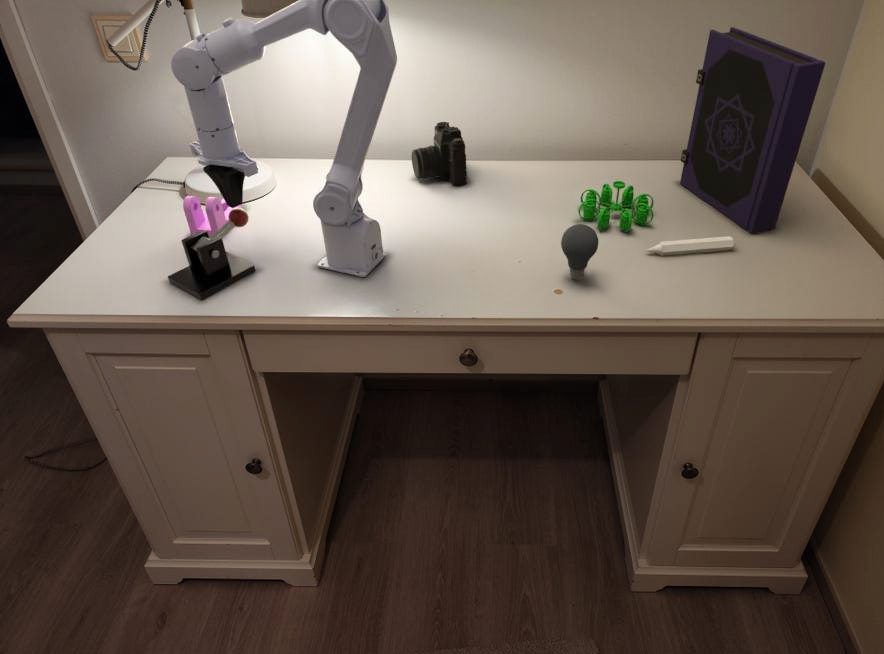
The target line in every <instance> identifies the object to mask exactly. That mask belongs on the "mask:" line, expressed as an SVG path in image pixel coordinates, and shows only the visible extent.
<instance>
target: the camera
mask: <svg viewBox="0 0 884 654" xmlns="http://www.w3.org/2000/svg"><path fill="white" fill-rule="evenodd" d="M411 164H412V165H411V166H412V169H413V173H414V177H415V178H416V179H417V180H427V179H433V178H439V179H441V180H443V181H449V182H451V183H452V186H453V187H461V186H465V185H466V184H468V182H467V179H468V176H467V173H468V172H467V154H466V144H465V140H463V137H462V131H461V130H460V129H459V128H458V127H457V126H450V122H448V121H440V122H437V123H436V125H435V126H434V136H433V145H429V146H425V147H418V148H416V149H413V150H412V151H411Z"/></svg>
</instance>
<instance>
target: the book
mask: <svg viewBox="0 0 884 654" xmlns="http://www.w3.org/2000/svg"><path fill="white" fill-rule="evenodd" d="M706 44H707V45H706V49H705V54H704V59H703V63H702V68H701V69H700V68H699V69H698V70H697V73H696V78H695V83H696V84H698V88H697V89H698V90H697V94H696V100H695V105H694V111H693V114H692V115H693V116H692V121H691V124H690V129H689V130H690V131H689V135H688V140H687V145H686V149H682V151H681V152H682V153H681V156H680V162H681V163H683V166H682V170H681V175H680V181H679V184H680V185H681V186H682V187H684V188H685V189H687V190H688V191H690V192H691V193H692V194H694V195H696V197H698V198H700V199H701V200H703V201H704V202H706V204H708V205H710V206H711V207H713V208H714V209H715V210H717V211H718V212H719V213H721V214H722V215H724V216H725V217H727V218H728V219H729V220H731V221H733V222H734V223H735V224H736V225H738V226H740V227H741V228H742V229H744V230H745V231H747V232H748V233H750V234H759V233H764V232H768V231H771V230H773V229H776V227H777V222H778V219H779V216H780V213H781V209H782V208H783V207H782V206H783V203H784V200H785V196H786V194H787V190H788V187H789V183H790V180H791V177H792V174H793V170H794V167H795V164H796V160H797V158H798V155H799V151H800V147H801V144H802V141H803V138H804V135H805V132H806V129H807V125H808V122H809V118H810V115H811V112H812V108H813V105H814V102H815V98H816V97H817V96H816V95H817V92H818V89H819V86H820V82H821V79H822V76H823V73H824V69H825V66H826V62H825V61H824V60H821V59H818V58H816V57H814V56H810V55H808V54H805V53H803V52H800V51H798V50H794V49H792V48H789V47H786V46H784V45H782V44H779V43H776V42H773V41H771V40H769V39H766V38H763V37H761V36H758V35H755V34H752V33H751V32H747V31H745V30H742V29H739V28H737V27H734V26H731V27H730V28H729V31H727V32H721V31H717V30H716V29H710V30H709V34H708V39H707V43H706Z"/></svg>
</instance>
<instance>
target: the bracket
mask: <svg viewBox="0 0 884 654" xmlns="http://www.w3.org/2000/svg"><path fill="white" fill-rule="evenodd" d="M221 199H222V200H221ZM204 207H205V209H204V210H205V211H203V208H202V204H201V200H200V199H199V197H197V195H196V196H195V195H186V196H185V197H184V199H183V203H182V208H183V213H184V215H185V218H186V222H187V225H188V229H189V231H190V236H191V235H193V234H195V233H197V232H200V231H202V230H206V231H207V232H208V235H209V238H210V237H211V236H212V235H213V234H215V233H216V232H217V231H218V230H219V229H220V228H221V227H222V226H223V225H224V224H226V223H227V222H228V221H229V213H230V211H231V210H233V209H235V208H241V209H243V207H242V204H241V205H239V206H237V207H235V208H231V207H229V206H228V205H227V204H226V202H225V200H224V198H220V197H217V196H208V197H207V198H206V200H205V205H204Z"/></svg>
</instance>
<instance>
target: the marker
mask: <svg viewBox="0 0 884 654" xmlns="http://www.w3.org/2000/svg"><path fill="white" fill-rule="evenodd" d="M734 243H735V242H734V239H733V237H732V236H731V235H728V236H716V237H704V238H690V239H678V240H666V241H665V240H664V241H659V242H658V243H657V244H656V245H654V246H653V247H649V248H647V249H644V250H645V252H650V253H655V254H658V255H659V256H660V257H661V256H673V255H674V256H675V255H684V254H685V255H686V254H688V255H689V254H698V253H712V252H722V251H723V252H724V251H731V250H732V249H733V248H734Z"/></svg>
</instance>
